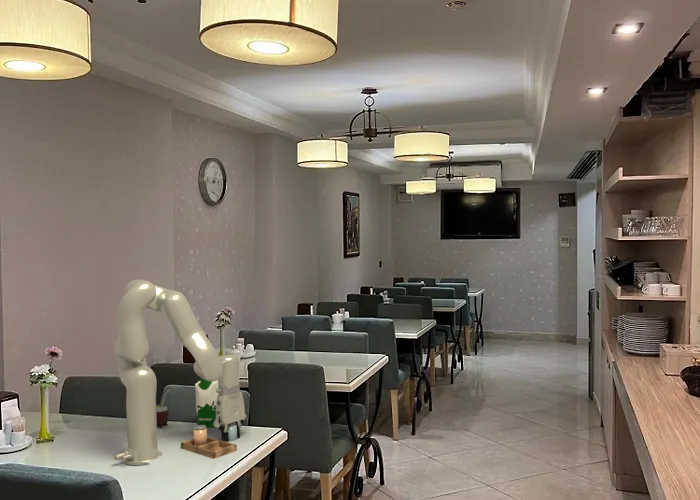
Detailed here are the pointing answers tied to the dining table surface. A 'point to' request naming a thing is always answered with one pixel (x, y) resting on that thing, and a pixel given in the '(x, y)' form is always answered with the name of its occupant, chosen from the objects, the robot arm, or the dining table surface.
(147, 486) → the dining table surface
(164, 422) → the mate gourd
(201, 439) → the pepper shaker
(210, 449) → the caddy
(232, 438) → the salt shaker
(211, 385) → the milk carton
